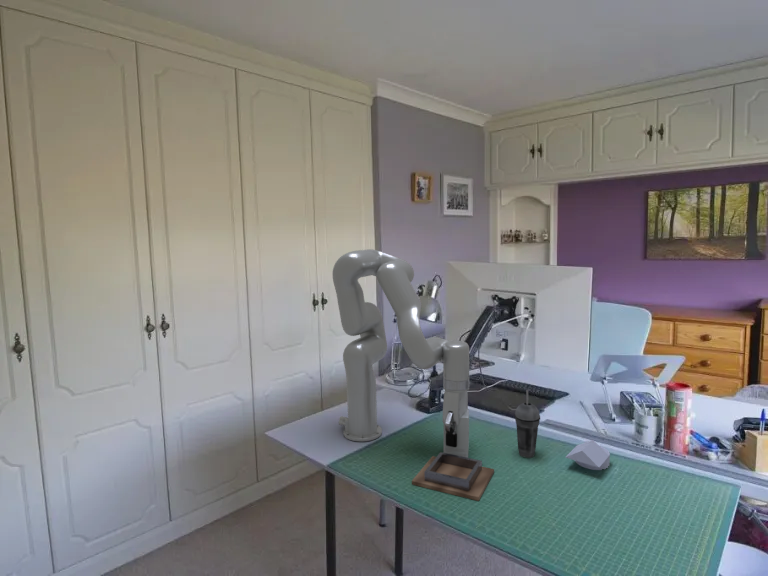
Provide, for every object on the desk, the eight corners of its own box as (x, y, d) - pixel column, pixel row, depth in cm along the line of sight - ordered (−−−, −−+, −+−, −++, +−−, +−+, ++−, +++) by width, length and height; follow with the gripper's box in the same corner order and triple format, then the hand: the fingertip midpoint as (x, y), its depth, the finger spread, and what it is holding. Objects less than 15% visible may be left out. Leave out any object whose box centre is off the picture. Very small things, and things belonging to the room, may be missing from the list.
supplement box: (468, 459, 138) (468, 418, 137) (442, 457, 140) (442, 416, 138) (469, 448, 145) (469, 408, 144) (444, 446, 147) (444, 407, 145)
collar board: (411, 484, 126) (411, 471, 125) (432, 459, 139) (432, 447, 139) (478, 501, 118) (478, 487, 117) (494, 472, 131) (494, 460, 130)
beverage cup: (541, 450, 143) (542, 386, 140) (537, 462, 136) (539, 394, 134) (516, 446, 146) (517, 383, 143) (511, 457, 139) (512, 391, 137)
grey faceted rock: (598, 479, 126) (613, 460, 136) (599, 455, 126) (614, 438, 135) (564, 468, 132) (581, 451, 142) (565, 445, 131) (581, 429, 141)
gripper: (453, 373, 149) (453, 426, 151) (433, 391, 134) (434, 449, 136) (477, 376, 146) (477, 430, 148) (459, 394, 130) (459, 455, 133)
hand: (456, 439), depth 142 cm, fingers closed on supplement box, 8 cm apart
